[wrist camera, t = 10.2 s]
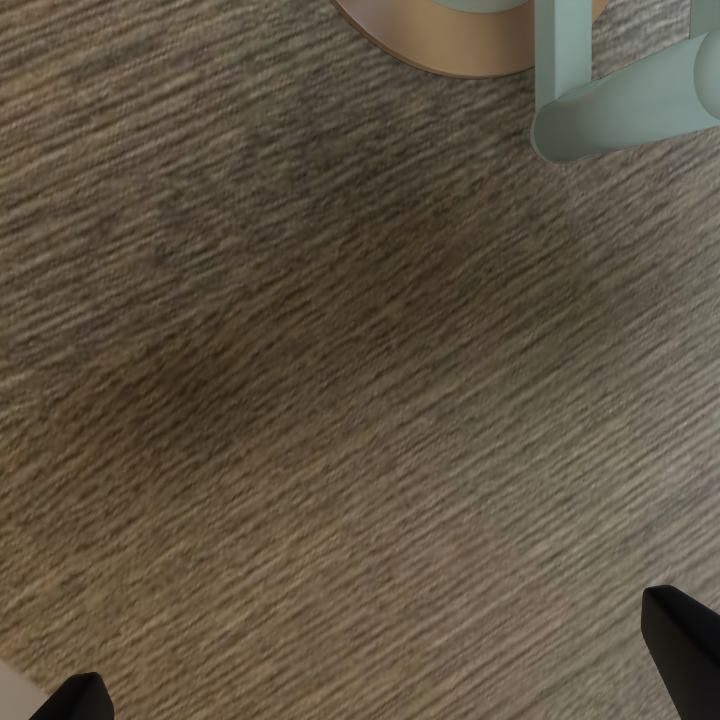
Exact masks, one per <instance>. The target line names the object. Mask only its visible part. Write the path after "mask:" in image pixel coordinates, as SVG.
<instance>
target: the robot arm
mask: <svg viewBox="0 0 720 720" xmlns="http://www.w3.org/2000/svg"><path fill="white" fill-rule="evenodd" d="M641 630H642V635H643V638H644V640H645V642H646V645H647V647H648V649H649V651H650V653H651V655H652V658H653V660H654V662H655V664H656V666H657V668H658V670H659V673H660V675H661V677H662V679H663V681H664V683H665V685H666V688H667V690H668V692H669V694H670V696H671V698H672V701H673V703H674V705H675V707H676V709H677V711H678V713H679V716H680V718H681V720H720V615H719V614H717V613H715V612H714V611H712V610H711V609H709V608H707V607H706V606H704V605H703V604H701V603H699V602H698V601H696V600H695V599H693V598H691V597H690V596H688V595H687V594H685V593H683V592H682V591H680V590H679V589H677V588H675V587H673V586H671V585H660V586H654V587H648V588H646V589H645V590H644V592H643V598H642V613H641ZM29 720H114V707H113V703H112V701H111V699H110V696H109V694H108V691H107V689H106V687H105V684H104V682H103V680H102V677H101V676H100V674H98V673H97V672H90V673H83V674H77V675H73V676H71V677H70V678H68V679H67V680H66V681H65V682H64V683H63V684H62V685H61V686H60V687H59V688H58V689H57V690H56V692H55V693H54V694H53V695H52V696H51V697H50V698H49V699H48V700H47V701H46V702H45V703H44V704H43V705H42V706H41V707H40V708H39V709H38V710H37V711H36V713H34V715H33V716H32V717H31V718H30V719H29Z"/></svg>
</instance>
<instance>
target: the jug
mask: <svg viewBox="0 0 720 720" xmlns="http://www.w3.org/2000/svg"><path fill="white" fill-rule="evenodd" d="M430 1H432V2H435V3H437V4H440V5H442V6H444V7H447V8H451V9H455V10H459V11H463V12H472V13H494V12H500V11H505V10H509V9H513V8H516V7H518V6H521V5H523V4H526V3H528V2H529V1H531V0H430ZM534 36H535V116H534V118H533V120H532V122H531V126H530V134H529V136H530V143H531V146H532V148H533V150H534V151H535V153H536V154H537V155H538V156H539V157H540V158H541V159H542V160H544V161H546V162H549V163H552V164H567V163H571V162H575V161H579V160H583V159H587V158H591V157H595V156H599V155H603V154H607V153H611V152H615V151H619V150H623V149H627V148H631V147H635V146H639V145H643V144H646V143H650V142H654V141H658V140H662V139H666V138H670V137H674V136H678V135H682V134H686V133H690V132H694V131H698V130H702V129H706V128H710V127H714V126H718V125H720V0H691V6H690V30H689V38H687V39H685V40H683V41H680V42H678V43H676V44H674V45H672V46H669V47H667V48H665V49H663V50H661V51H658V52H656V53H654V54H652V55H649V56H647V57H645V58H643V59H641V60H638V61H636V62H634V63H632V64H630V65H627V66H625V67H623V68H621V69H619V70H616V71H614V72H612V73H610V74H607V75H605V76H603V77H601V78H599V79H596V80H594V81H592V82H591V61H592V0H534Z"/></svg>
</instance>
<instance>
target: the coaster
mask: <svg viewBox="0 0 720 720" xmlns="http://www.w3.org/2000/svg"><path fill="white" fill-rule="evenodd" d="M330 1H331V2H332V3H333V5H334V6H335V7H336V8H337V9H338V11H339V12H340V13H341V14H342V16H343V17H344V18H345V19H346V20H347V21H348V22H350V23H351V24H352V25H353V26H354V27H355V28H356V29H357V30H358V31H359V32H360V33H361V34H362V35H363V36H364V37H366V38H367V39H368V40H370V41H371V42H373V43H374V44H375V45H377V46H378V47H379V48H381V49H382V50H383V51H385V52H387V53H388V54H390V55H392V56H394V57H396V58H397V59H399V60H401V61H403V62H405V63H406V64H409V65H411V66H414V67H417V68H419V69H422V70H424V71H427V72H430V73H434V74H438V75H443V76H447V77H451V78H463V79H487V78H498V77H502V76H506V75H511V74H515V73H519V72H521V71H524V70H526V69H529V68H531V67H534V66H535V36H534V0H531V1H529V2H528V3H526V4H523V5H521V6H518V7H516V8H513V9H509V10H505V11H500V12H494V13H472V12H463V11H459V10H455V9H451V8H447V7H444V6H442V5H440V4H437V3H435V2H432V1H430V0H330ZM609 2H610V0H592V24H593V23H594V22H595V21H596V19H597V18H598V17H599V15H600V14H601V13H602V11H603V10H604V9H605V7H606V6H607V4H608V3H609Z"/></svg>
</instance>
